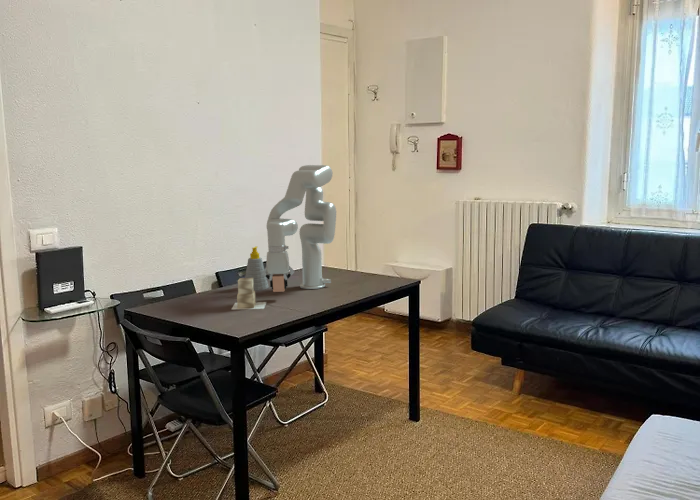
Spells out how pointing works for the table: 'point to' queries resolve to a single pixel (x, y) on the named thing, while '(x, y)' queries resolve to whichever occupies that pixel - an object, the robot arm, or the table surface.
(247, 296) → the tower base
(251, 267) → the soap bottle
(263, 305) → the mat
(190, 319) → the table surface
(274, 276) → the top block
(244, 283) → the tower mid
